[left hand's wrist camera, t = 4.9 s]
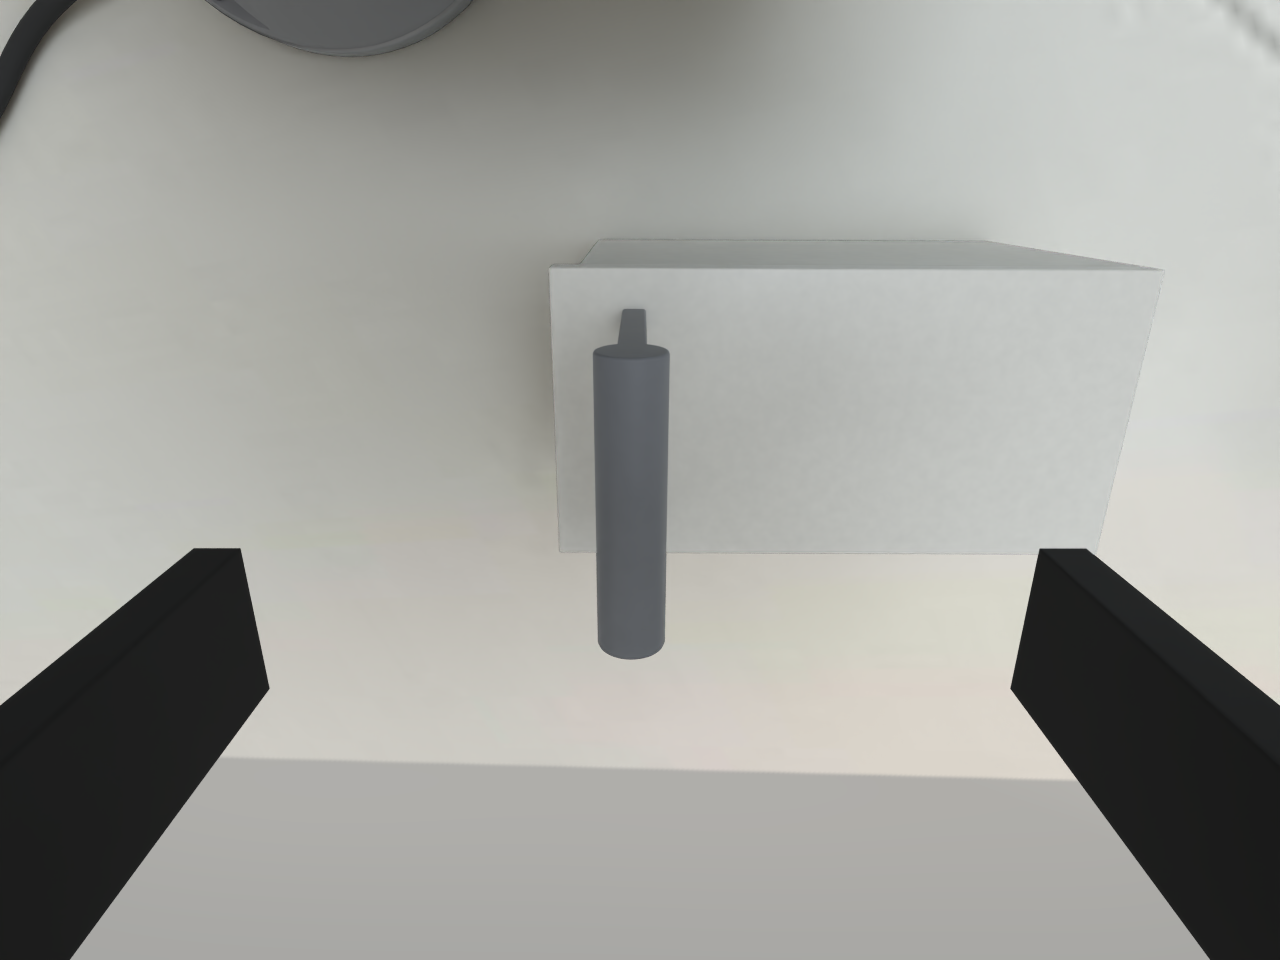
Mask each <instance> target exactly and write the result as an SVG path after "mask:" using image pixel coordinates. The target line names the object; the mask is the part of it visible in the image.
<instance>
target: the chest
mask: <svg viewBox="0 0 1280 960" xmlns="http://www.w3.org/2000/svg"><path fill="white" fill-rule="evenodd" d="M580 264H680V265H913V266H1137V265H1131V264H1125V263H1119V262H1113V261H1107V260H1100V259H1094V258H1088V257H1082V256H1076V255H1070V254H1063V253H1057V252H1051V251H1045V250H1039V249H1033V248H1026V247H1020V246H1014V245H1008V244H1002V243H996V242H989V241H846V240H613V239H600V240H598V241H597V243H596V244H595V245H594V247H593V248H592V249H591V250H590V252H589V253H588V254H587V256H586V257H585V258H584V259H583V261H582V262H581V263H580Z"/></svg>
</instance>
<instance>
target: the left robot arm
mask: <svg viewBox="0 0 1280 960" xmlns="http://www.w3.org/2000/svg"><path fill="white" fill-rule="evenodd" d="M75 1H76V0H36V1H35V2H34V3H33V5H32V6H31V7H30V8H29V10H28V11H27V12H26V14H25V15H24V16H23V18H22V19H21V20H20V22H19V23H18V25H17V27H16V28H15V30H14V31H13V33H12V35H11V37H10V38H9V40H8V42H7V44H6V46H5V48H4V50H3V52H2V54H1V56H0V117H1V116H2V114H3V112H4V110H5V108H6V106H7V104H8V102H9V100H10V98H11V96H12V94H13V92H14V89H15V87H16V85H17V83H18V81H19V79H20V77H21V74H22V72H23V70H24V68H25V66H26V64H27V62H28V60H29V59H30V57H31V55H32V53H33V51H34V50H35V48H36V47H37V45H38V43H39V42H40V40H41V39H42V37H43V36H44V35H45V33H46V32H47V31H48V29H49V28H50V27H51V25H52V24H53V23H54V22H55V21H56V20H57V19H58V18H59V16H60V15H61V14H62V13H63V12H64V11H65V10H66V9H67V8H69V7H70V6H71V5H72V4H73V3H74V2H75ZM205 1H207V2H208V3H209V4H211V5H212V6H213V7H215V8H216V9H217V10H219V11H220V12H221V13H223V14H225V15H226V16H228V17H229V18H231V19H233V20H234V21H236V22H237V23H239V24H241V25H243V26H245V27H247V28H249V29H251V30H253V31H255V32H257V33H259V34H261V35H263V36H266V37H268V38H271V39H273V40H276V41H279V42H281V43H284V44H286V45H289V46H291V47H294V48H298V49H301V50H305V51H309V52H312V53H318V54H324V55H330V56H346V57H354V56H369V55H376V54H382V53H387V52H390V51H394V50H397V49H401V48H404V47H406V46H409V45H411V44H414V43H416V42H418V41H421V40H422V39H424V38H426V37H428V36H430V35H431V34H433V33H435V32H437V31H438V30H439V29H441V28H442V27H444V26H445V25H446V24H448V23H449V22H450V21H452V20H453V19H454V18H455V17H456V16H457V15H458V14H460V13H461V12H462V11H463V10H464V9H465V8H466V7H467V6H468V5H469V4H470V3H471V1H472V0H205ZM269 689H270V688H269V684H268V679H267V674H266V669H265V664H264V660H263V655H262V650H261V645H260V640H259V635H258V631H257V626H256V621H255V616H254V611H253V607H252V602H251V597H250V592H249V587H248V582H247V578H246V573H245V568H244V563H243V558H242V554H241V549H240V548H194V549H192V550H191V551H190V552H189V553H188V554H186V555H185V556H184V557H183V558H181V559H180V560H179V561H178V562H176V563H175V564H174V565H173V566H172V567H170V568H169V569H168V570H167V571H165V572H164V573H163V574H162V575H160V576H159V577H158V578H157V579H155V580H154V581H153V582H152V583H151V584H149V585H148V586H147V587H146V588H144V589H143V590H142V591H141V592H139V593H138V594H137V595H136V596H135V597H133V598H132V599H131V600H130V601H128V602H127V603H126V604H125V605H123V606H122V607H121V608H120V609H119V610H117V611H116V612H115V613H114V614H112V615H111V616H110V617H109V618H107V619H106V620H105V621H104V622H103V623H101V624H100V625H99V626H98V627H96V628H95V629H94V630H93V631H91V632H90V633H89V634H88V635H87V636H85V637H84V638H83V639H82V640H80V641H79V642H78V643H77V644H75V645H74V646H73V647H72V648H71V649H69V650H68V651H67V652H66V653H64V654H63V655H62V656H61V657H59V658H58V659H57V660H56V661H55V662H53V663H52V664H51V665H50V666H48V667H47V668H46V669H45V670H43V671H42V672H41V673H40V674H38V675H37V676H36V677H35V678H34V679H32V680H31V681H30V682H29V683H27V684H26V685H25V686H24V687H22V688H21V689H20V690H19V691H18V692H16V693H15V694H14V695H13V696H11V697H10V698H9V699H8V700H6V701H5V702H4V703H3V704H2V705H0V960H70V959H71V957H72V956H73V955H74V953H75V952H76V951H77V949H78V948H79V947H80V945H81V944H82V942H83V941H84V940H85V938H86V937H87V936H88V934H89V933H90V932H91V930H92V929H93V928H94V926H95V925H96V923H97V922H98V921H99V919H100V918H101V917H102V915H103V914H104V913H105V911H106V910H107V909H108V907H109V906H110V904H111V903H112V902H113V900H114V899H115V898H116V896H117V895H118V894H119V892H120V891H121V890H122V888H123V887H124V886H125V884H126V883H127V881H128V880H129V879H130V877H131V876H132V875H133V873H134V872H135V871H136V869H137V868H138V866H139V865H140V864H141V862H142V861H143V860H144V858H145V857H146V856H147V854H148V853H149V852H150V850H151V849H152V847H153V846H154V845H155V843H156V842H157V841H158V839H159V838H160V837H161V835H162V834H163V833H164V831H165V830H166V828H167V827H168V826H169V824H170V823H171V822H172V820H173V819H174V818H175V816H176V815H177V814H178V812H179V811H180V810H181V808H182V807H183V805H184V804H185V803H186V801H187V800H188V799H189V797H190V796H191V795H192V793H193V792H194V790H195V789H196V788H197V786H198V785H199V784H200V782H201V781H202V780H203V778H204V777H205V776H206V774H207V773H208V772H209V770H210V769H211V767H212V766H213V765H214V763H215V762H216V761H217V759H218V758H219V757H220V755H221V754H222V753H223V751H224V750H225V748H226V747H227V746H228V744H229V743H230V742H231V740H232V739H233V738H234V736H235V735H236V734H237V732H238V731H239V729H240V728H241V727H242V725H243V724H244V723H245V721H246V720H247V719H248V717H249V716H250V715H251V713H252V712H253V710H254V709H255V708H256V706H257V705H258V704H259V702H260V701H261V700H262V698H263V697H264V696H265V694H266V693H267V691H268V690H269ZM1010 689H1011V690H1012V691H1013V693H1014V694H1015V696H1016V697H1017V698H1018V700H1019V701H1020V702H1021V704H1022V705H1023V706H1024V708H1025V709H1026V710H1027V712H1028V713H1029V715H1030V716H1031V717H1032V719H1033V720H1034V721H1035V723H1036V724H1037V725H1038V727H1039V728H1040V729H1041V731H1042V732H1043V734H1044V735H1045V736H1046V738H1047V739H1048V740H1049V742H1050V743H1051V744H1052V746H1053V747H1054V748H1055V750H1056V751H1057V753H1058V754H1059V755H1060V757H1061V758H1062V759H1063V761H1064V762H1065V763H1066V765H1067V766H1068V767H1069V769H1070V770H1071V772H1072V773H1073V774H1074V776H1075V777H1076V778H1077V780H1078V781H1079V782H1080V784H1081V785H1082V786H1083V788H1084V789H1085V791H1086V792H1087V793H1088V795H1089V796H1090V797H1091V799H1092V800H1093V801H1094V803H1095V804H1096V805H1097V807H1098V808H1099V809H1100V811H1101V812H1102V814H1103V815H1104V816H1105V818H1106V819H1107V820H1108V822H1109V823H1110V824H1111V826H1112V827H1113V829H1114V830H1115V831H1116V833H1117V834H1118V835H1119V837H1120V838H1121V839H1122V841H1123V842H1124V843H1125V845H1126V846H1127V847H1128V849H1129V850H1130V852H1131V853H1132V854H1133V856H1134V857H1135V858H1136V860H1137V861H1138V862H1139V864H1140V865H1141V866H1142V868H1143V869H1144V871H1145V872H1146V873H1147V875H1148V876H1149V877H1150V879H1151V880H1152V881H1153V883H1154V884H1155V885H1156V887H1157V888H1158V890H1159V891H1160V892H1161V894H1162V895H1163V896H1164V898H1165V899H1166V900H1167V902H1168V903H1169V905H1170V906H1171V907H1172V909H1173V910H1174V911H1175V913H1176V914H1177V915H1178V917H1179V918H1180V919H1181V921H1182V922H1183V924H1184V925H1185V926H1186V928H1187V929H1188V930H1189V932H1190V933H1191V934H1192V936H1193V937H1194V938H1195V940H1196V941H1197V942H1198V944H1199V945H1200V947H1201V948H1202V949H1203V951H1204V952H1205V953H1206V955H1207V956H1208V957H1209V959H1210V960H1280V705H1278V704H1277V703H1276V702H1275V701H1274V700H1272V699H1271V698H1270V697H1269V696H1267V695H1266V694H1265V693H1264V692H1262V691H1261V690H1260V689H1259V688H1258V687H1256V686H1255V685H1254V684H1253V683H1251V682H1250V681H1249V680H1248V679H1246V678H1245V677H1244V676H1243V675H1242V674H1240V673H1239V672H1238V671H1237V670H1235V669H1234V668H1233V667H1232V666H1230V665H1229V664H1228V663H1227V662H1225V661H1224V660H1223V659H1222V658H1221V657H1219V656H1218V655H1217V654H1216V653H1214V652H1213V651H1212V650H1211V649H1209V648H1208V647H1207V646H1206V645H1205V644H1203V643H1202V642H1201V641H1200V640H1198V639H1197V638H1196V637H1195V636H1193V635H1192V634H1191V633H1190V632H1189V631H1187V630H1186V629H1185V628H1184V627H1182V626H1181V625H1180V624H1179V623H1177V622H1176V621H1175V620H1174V619H1173V618H1171V617H1170V616H1169V615H1168V614H1166V613H1165V612H1164V611H1163V610H1161V609H1160V608H1159V607H1158V606H1157V605H1155V604H1154V603H1153V602H1152V601H1150V600H1149V599H1148V598H1147V597H1145V596H1144V595H1143V594H1142V593H1141V592H1139V591H1138V590H1137V589H1136V588H1134V587H1133V586H1132V585H1131V584H1129V583H1128V582H1127V581H1126V580H1125V579H1123V578H1122V577H1121V576H1120V575H1118V574H1117V573H1116V572H1115V571H1113V570H1112V569H1111V568H1110V567H1108V566H1107V565H1106V564H1105V563H1104V562H1102V561H1101V560H1100V559H1099V558H1097V557H1096V556H1095V555H1094V554H1092V553H1091V552H1090V551H1089V550H1088V549H1086V548H1040V549H1039V554H1038V558H1037V563H1036V568H1035V573H1034V578H1033V582H1032V587H1031V592H1030V597H1029V602H1028V607H1027V611H1026V616H1025V621H1024V626H1023V631H1022V635H1021V640H1020V645H1019V650H1018V655H1017V660H1016V664H1015V669H1014V674H1013V679H1012V684H1011V688H1010Z"/></svg>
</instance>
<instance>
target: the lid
mask: <svg viewBox="0 0 1280 960" xmlns="http://www.w3.org/2000/svg"><path fill="white" fill-rule="evenodd" d="M1163 276H1164V270H1162V269H1156V268H1150V267H1144V266H913V265H680V264H553V265H551V266H550V267H549V295H550V322H551V348H552V375H553V401H554V428H555V454H556V481H557V507H558V534H559V551H560V552H561V553H596V562H597V616H598V643H599V645H600V647H601V649H602V650H603V651H604V652H606V653H607V654H609V655H611V656H613V657H617V658H621V659H641V658H646V657H649V656H652V655H653V654H655V653H657V652H658V651H659V650H660V649H661V648H662V646H663V644H664V642H665V597H666V553H792V554H1027V555H1038V554H1039V549H1040V548H1086V549H1088V550H1089V551H1090V552H1091V553H1092V554H1094V555H1095V554H1096V552H1097V548H1098V544H1099V540H1100V535H1101V531H1102V527H1103V523H1104V519H1105V515H1106V511H1107V507H1108V503H1109V498H1110V494H1111V490H1112V486H1113V482H1114V478H1115V474H1116V470H1117V465H1118V461H1119V457H1120V453H1121V449H1122V445H1123V441H1124V437H1125V433H1126V428H1127V424H1128V420H1129V416H1130V412H1131V408H1132V404H1133V400H1134V396H1135V391H1136V387H1137V383H1138V379H1139V375H1140V371H1141V367H1142V363H1143V359H1144V354H1145V350H1146V346H1147V342H1148V338H1149V334H1150V330H1151V326H1152V321H1153V317H1154V313H1155V309H1156V305H1157V301H1158V297H1159V293H1160V289H1161V284H1162V280H1163Z"/></svg>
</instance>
